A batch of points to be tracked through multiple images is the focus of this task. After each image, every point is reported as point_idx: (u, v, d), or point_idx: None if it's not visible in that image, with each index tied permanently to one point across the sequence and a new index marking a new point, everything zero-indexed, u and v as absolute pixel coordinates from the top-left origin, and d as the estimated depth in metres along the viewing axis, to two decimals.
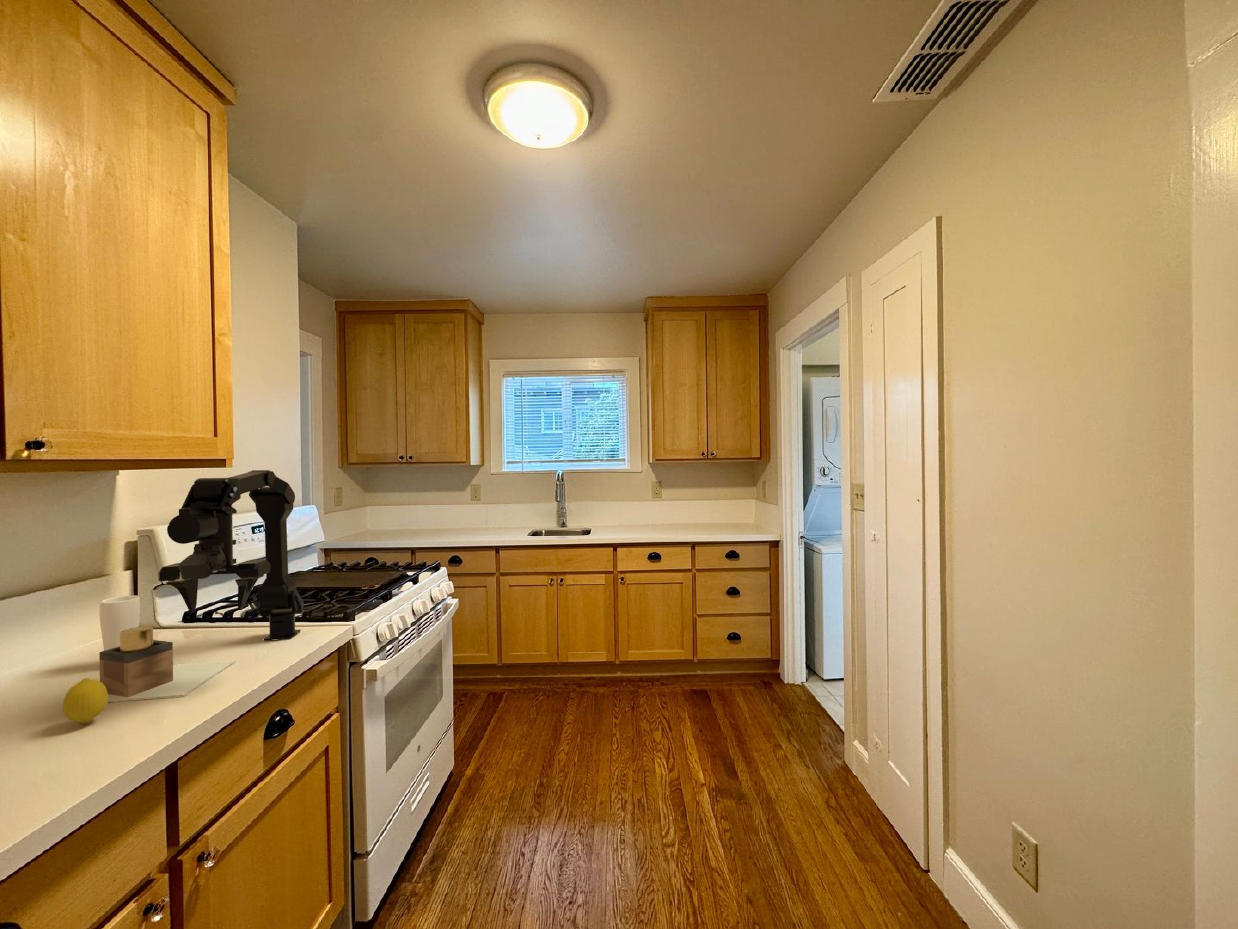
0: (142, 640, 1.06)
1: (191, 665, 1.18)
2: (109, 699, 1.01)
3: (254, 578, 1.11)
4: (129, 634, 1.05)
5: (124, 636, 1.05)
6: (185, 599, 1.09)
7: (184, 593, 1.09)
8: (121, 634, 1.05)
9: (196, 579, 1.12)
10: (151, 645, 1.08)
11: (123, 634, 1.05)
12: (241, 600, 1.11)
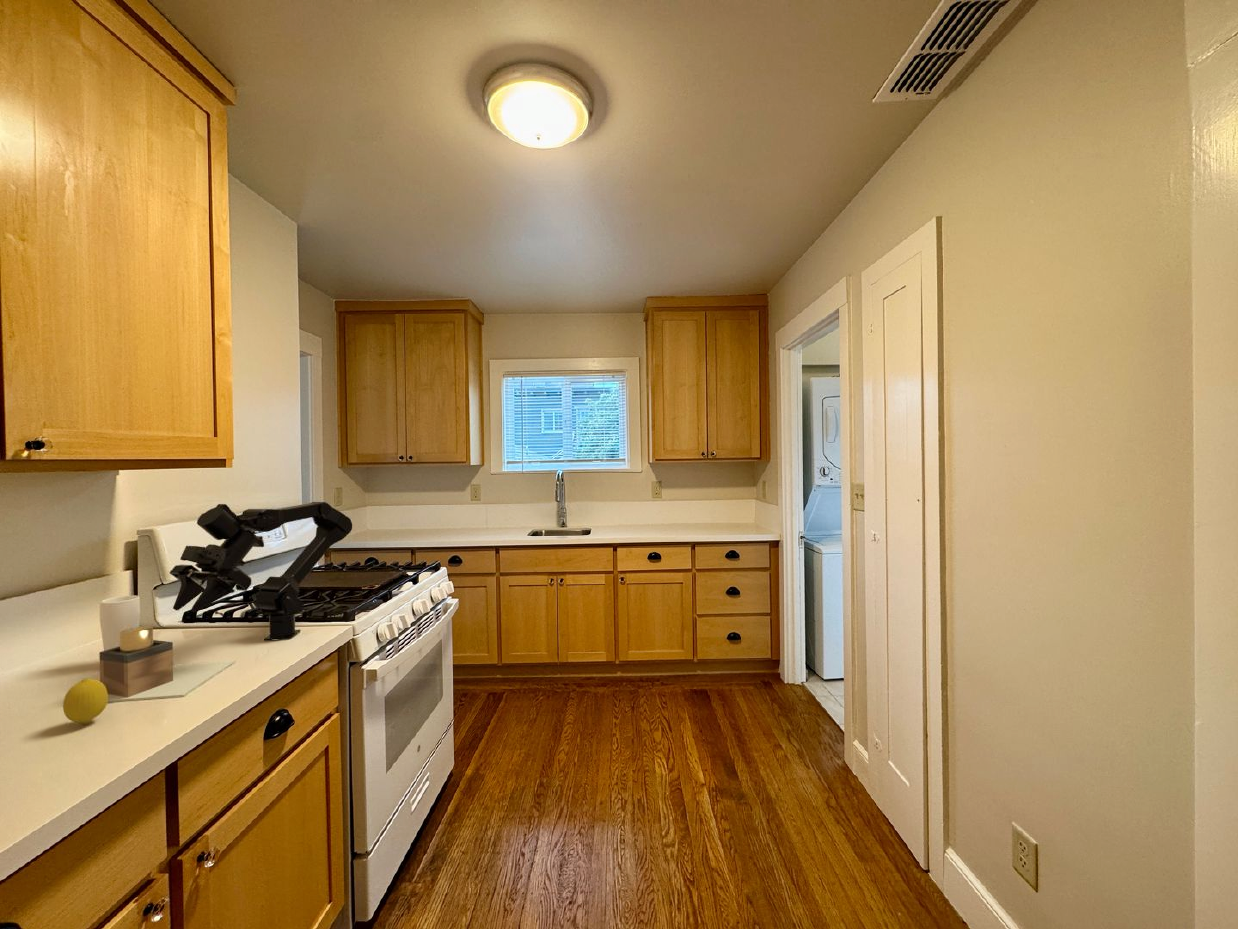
0: (142, 640, 1.06)
1: (191, 665, 1.18)
2: (109, 699, 1.01)
3: (222, 582, 1.18)
4: (129, 634, 1.05)
5: (124, 636, 1.05)
6: (179, 595, 1.18)
7: (182, 589, 1.19)
8: (121, 634, 1.05)
9: (201, 589, 1.22)
10: (151, 645, 1.08)
11: (123, 634, 1.05)
12: (199, 600, 1.16)
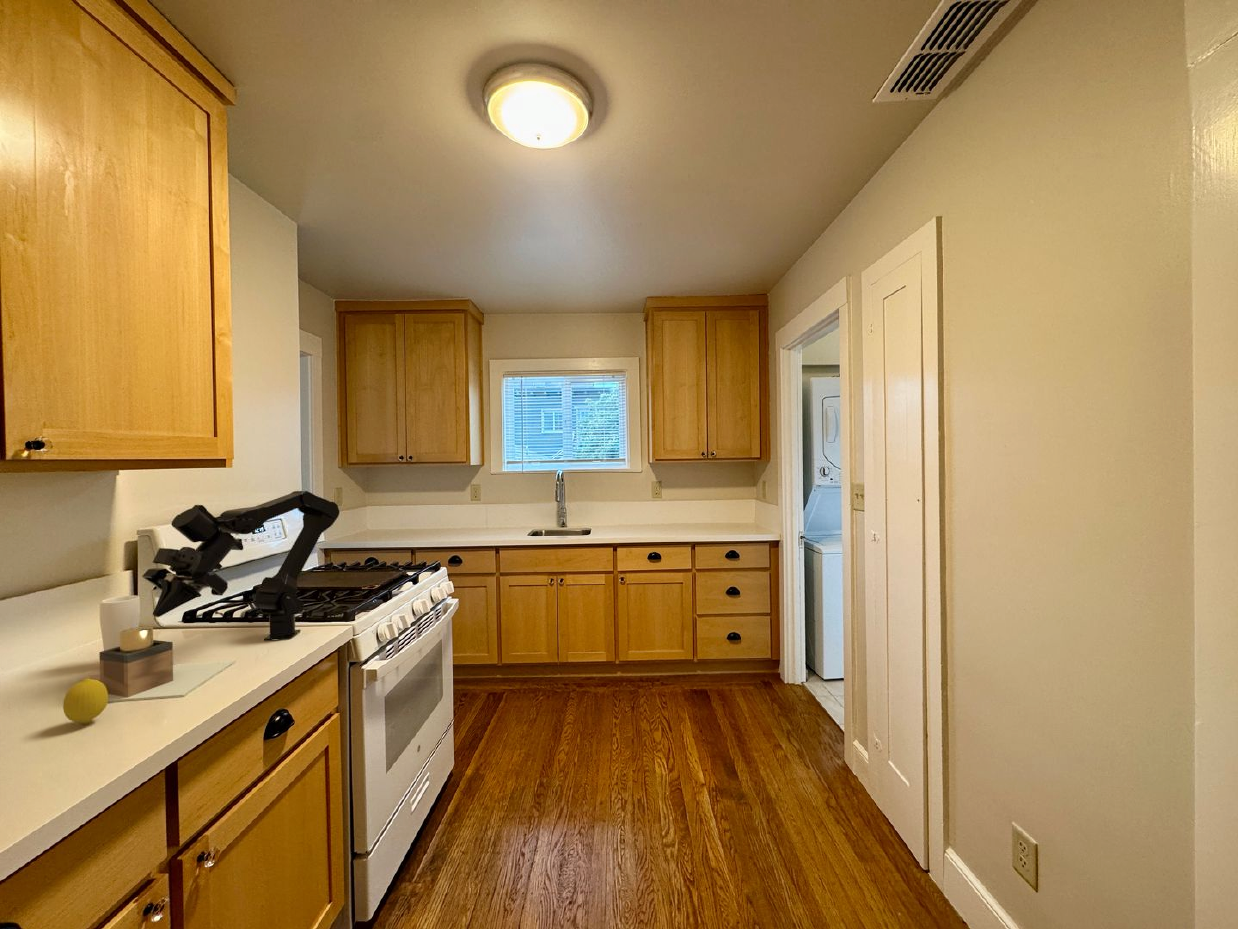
0: (142, 640, 1.06)
1: (191, 665, 1.18)
2: (109, 699, 1.01)
3: (187, 585, 1.13)
4: (129, 634, 1.05)
5: (124, 636, 1.05)
6: (159, 600, 1.12)
7: (163, 594, 1.13)
8: (121, 634, 1.05)
9: None
10: (151, 645, 1.08)
11: (123, 634, 1.05)
12: (163, 604, 1.11)
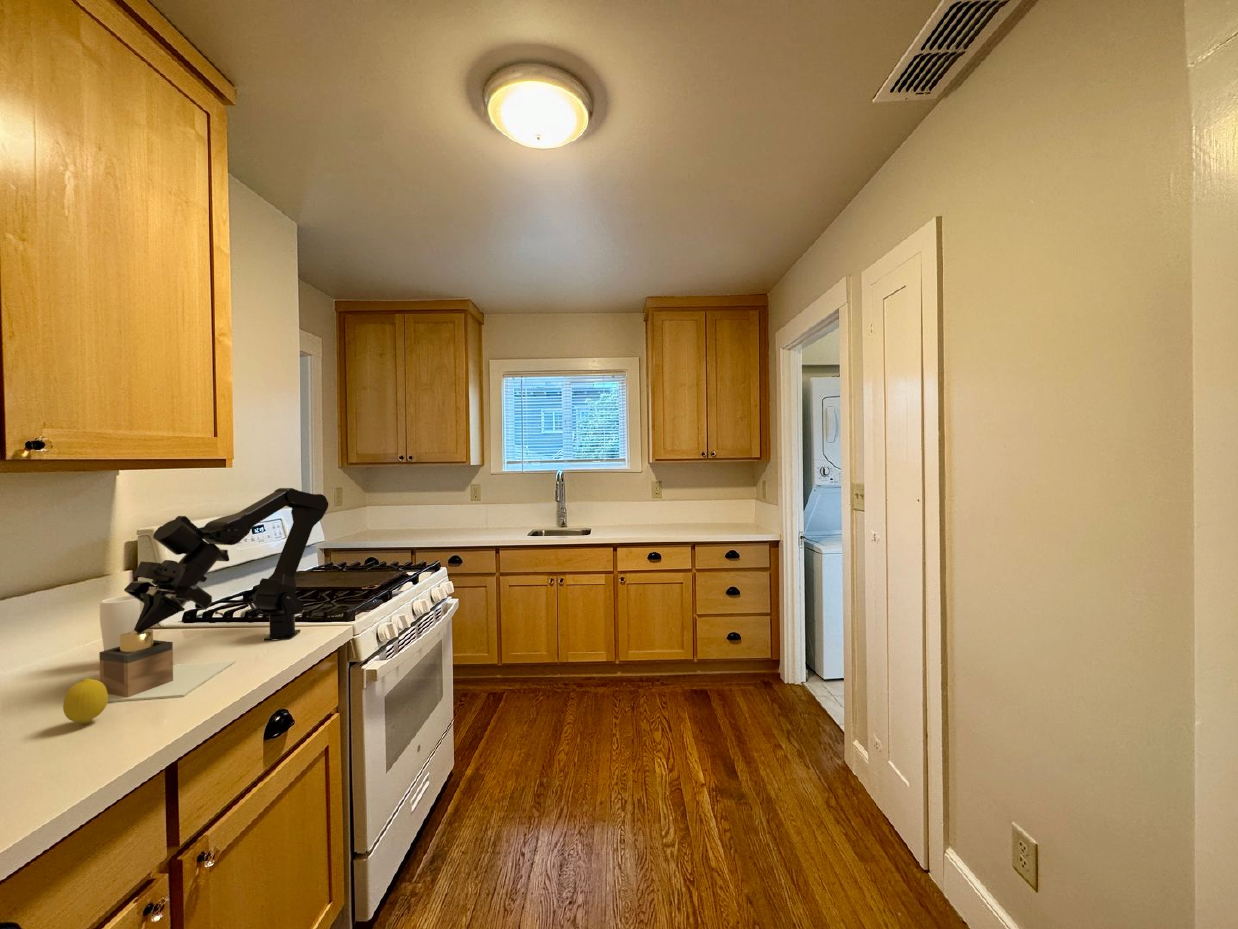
0: (142, 644, 1.06)
1: (191, 665, 1.18)
2: (109, 699, 1.01)
3: (170, 600, 1.10)
4: (129, 637, 1.05)
5: (124, 639, 1.05)
6: (141, 615, 1.09)
7: (145, 609, 1.09)
8: (121, 637, 1.05)
9: None
10: None
11: (123, 637, 1.05)
12: (144, 620, 1.08)
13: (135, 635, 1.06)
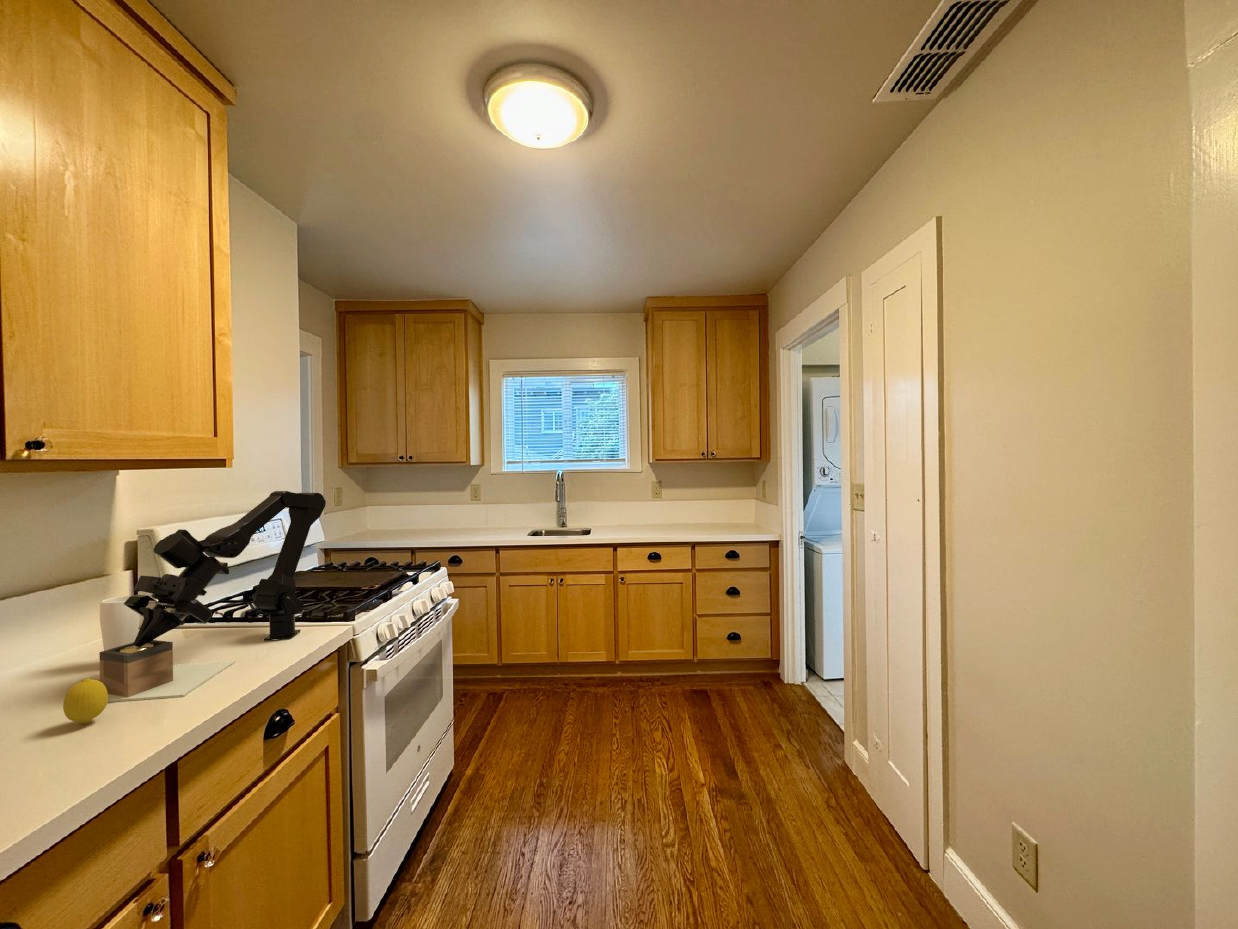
0: None
1: (191, 665, 1.18)
2: (109, 699, 1.01)
3: (169, 614, 1.10)
4: (129, 652, 1.05)
5: None
6: (140, 629, 1.08)
7: (145, 623, 1.09)
8: None
9: None
10: None
11: None
12: (144, 634, 1.08)
13: (135, 650, 1.06)
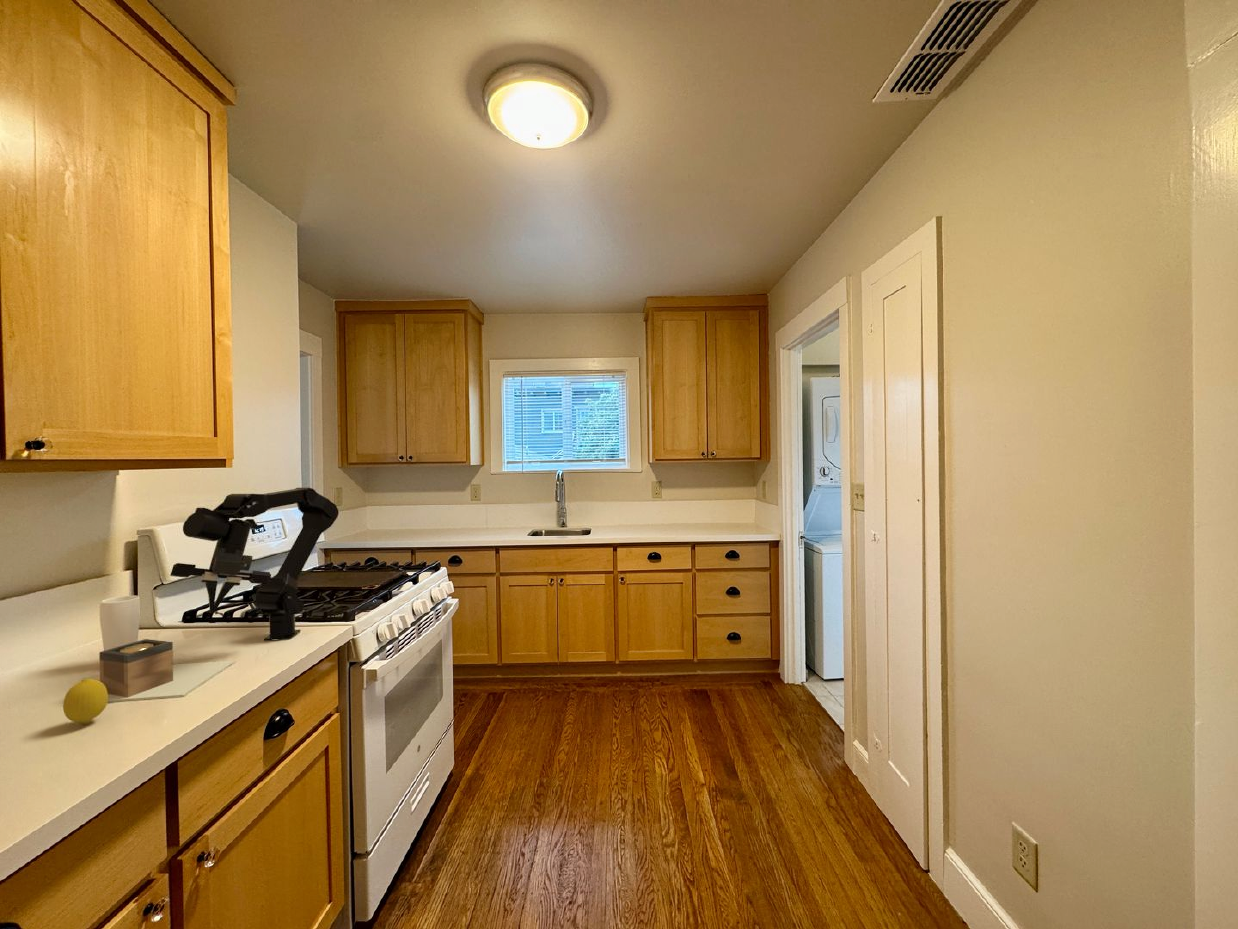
0: None
1: (191, 665, 1.18)
2: (109, 699, 1.01)
3: None
4: (129, 652, 1.05)
5: None
6: (211, 598, 1.20)
7: (212, 593, 1.20)
8: None
9: None
10: None
11: None
12: (219, 603, 1.21)
13: (135, 650, 1.06)
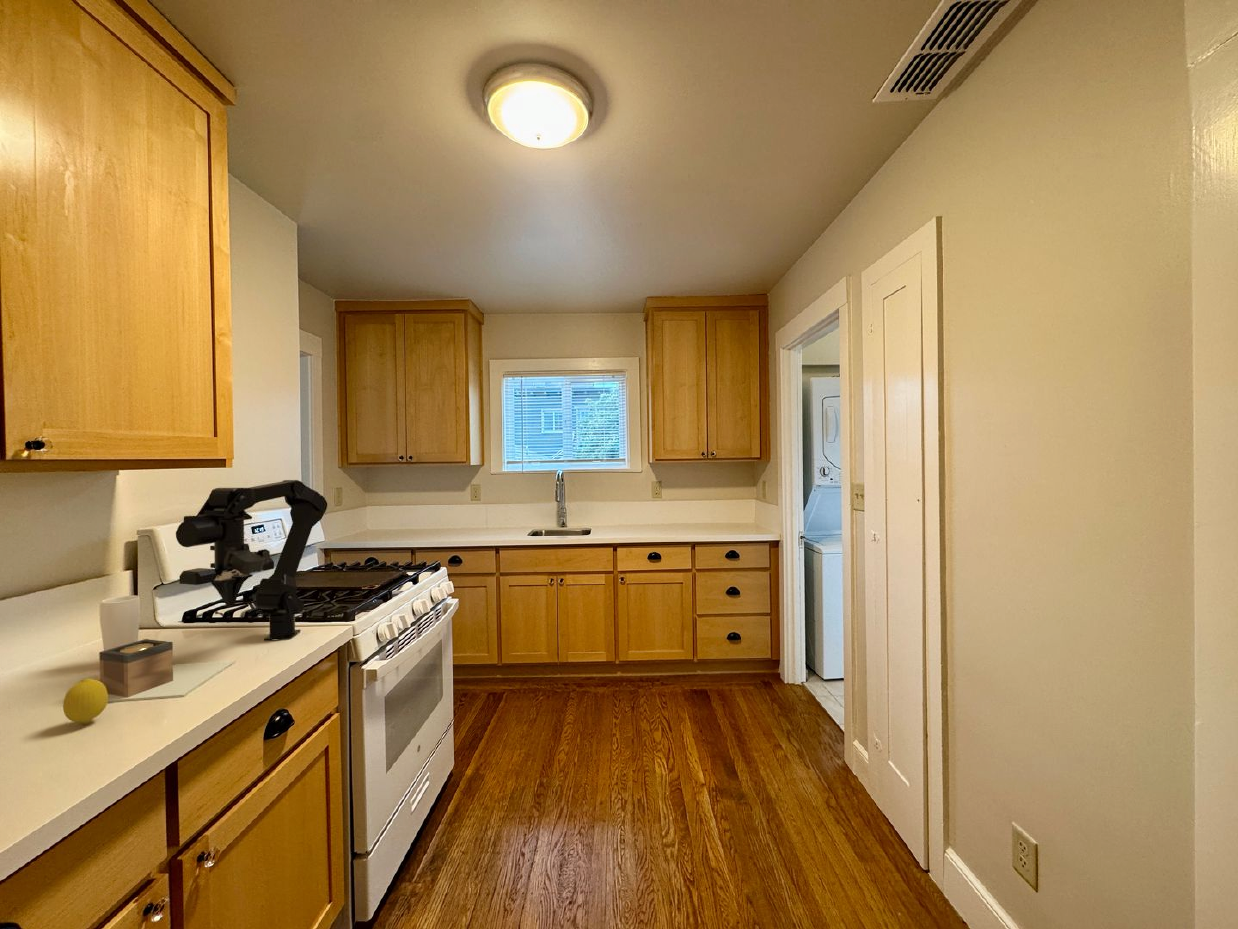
0: None
1: (191, 665, 1.18)
2: (109, 699, 1.01)
3: None
4: (129, 652, 1.05)
5: None
6: (230, 595, 1.23)
7: (230, 589, 1.23)
8: None
9: None
10: None
11: None
12: (236, 596, 1.25)
13: (135, 650, 1.06)
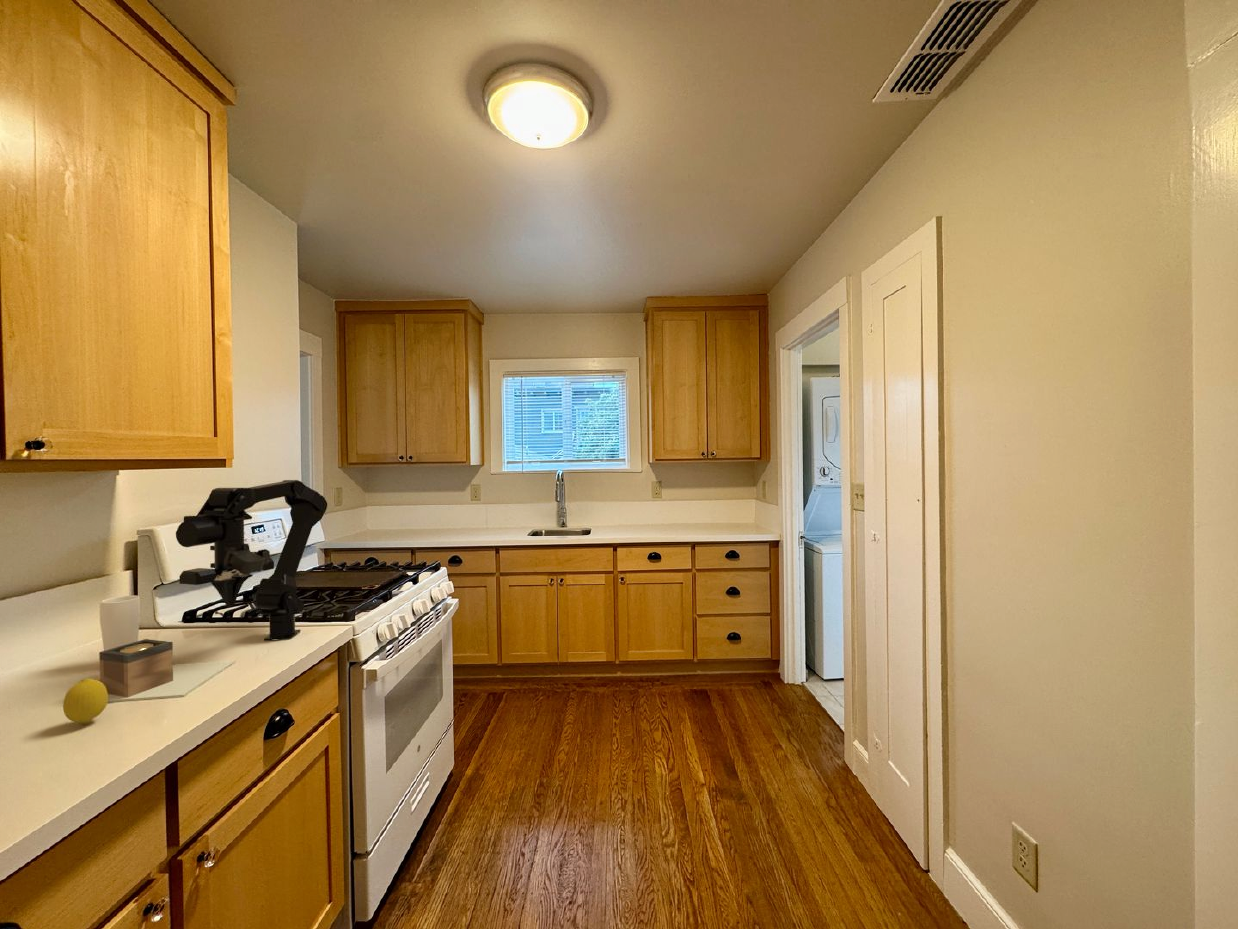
0: None
1: (191, 665, 1.18)
2: (109, 699, 1.01)
3: None
4: (129, 652, 1.05)
5: None
6: (230, 595, 1.23)
7: (230, 589, 1.23)
8: None
9: None
10: None
11: None
12: (236, 596, 1.25)
13: (135, 650, 1.06)
